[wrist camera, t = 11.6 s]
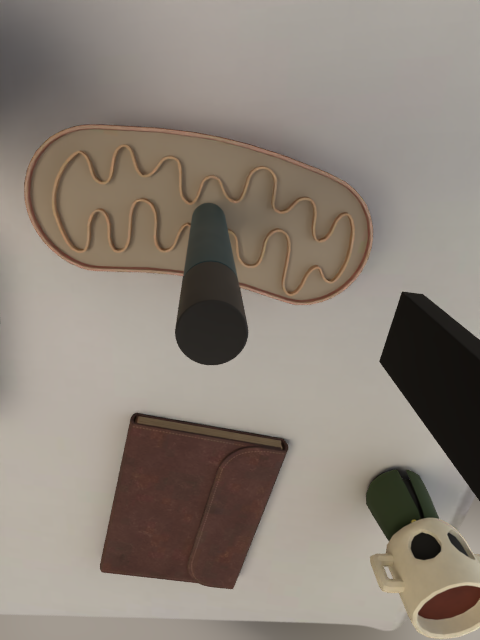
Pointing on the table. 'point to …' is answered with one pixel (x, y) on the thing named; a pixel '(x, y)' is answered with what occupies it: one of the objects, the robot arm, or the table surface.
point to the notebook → (188, 500)
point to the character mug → (424, 558)
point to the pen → (210, 293)
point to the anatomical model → (184, 197)
